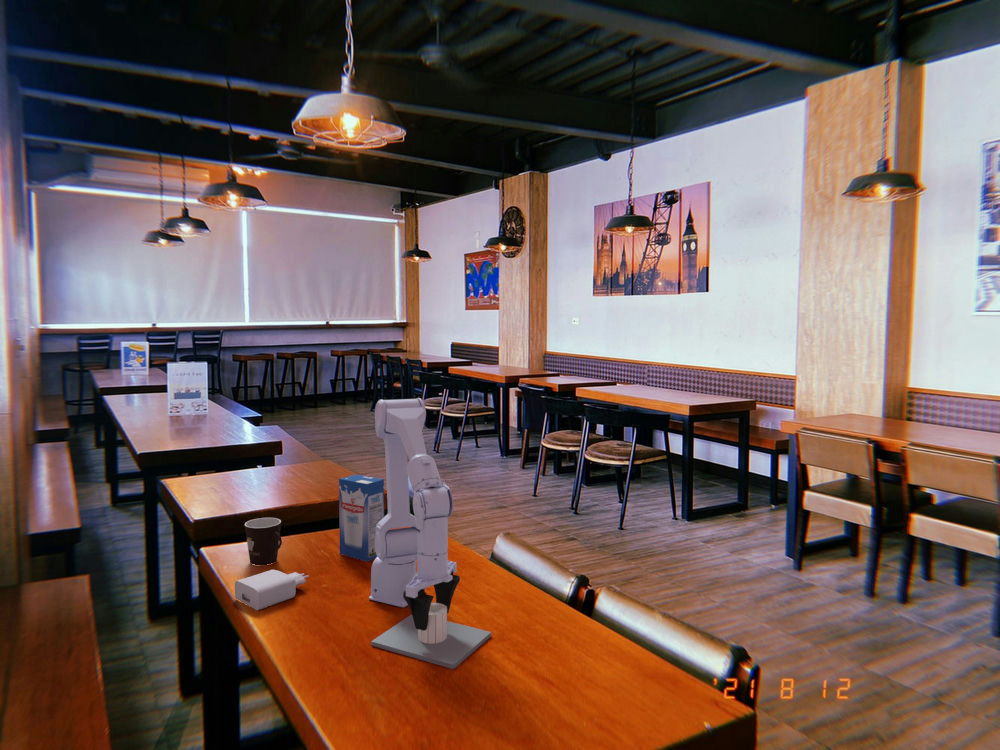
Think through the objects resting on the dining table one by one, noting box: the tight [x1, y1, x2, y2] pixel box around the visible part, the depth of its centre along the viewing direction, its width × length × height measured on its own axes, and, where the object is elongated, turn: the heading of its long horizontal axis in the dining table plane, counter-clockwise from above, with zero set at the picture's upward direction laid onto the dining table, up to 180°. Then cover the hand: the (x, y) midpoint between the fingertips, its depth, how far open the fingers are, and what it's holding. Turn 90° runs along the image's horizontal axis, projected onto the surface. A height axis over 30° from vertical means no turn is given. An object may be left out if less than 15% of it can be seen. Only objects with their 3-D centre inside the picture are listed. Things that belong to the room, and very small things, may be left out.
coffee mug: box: [244, 517, 283, 566], centre depth 164 cm, size 12×9×10 cm
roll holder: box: [370, 613, 492, 670], centre depth 125 cm, size 18×14×3 cm
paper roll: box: [418, 602, 448, 644], centre depth 125 cm, size 5×5×6 cm
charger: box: [234, 569, 310, 612], centre depth 146 cm, size 5×9×15 cm
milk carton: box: [338, 474, 385, 562], centre depth 171 cm, size 10×6×20 cm, turn 58°
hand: (432, 620), depth 125 cm, fingers open, 7 cm apart
